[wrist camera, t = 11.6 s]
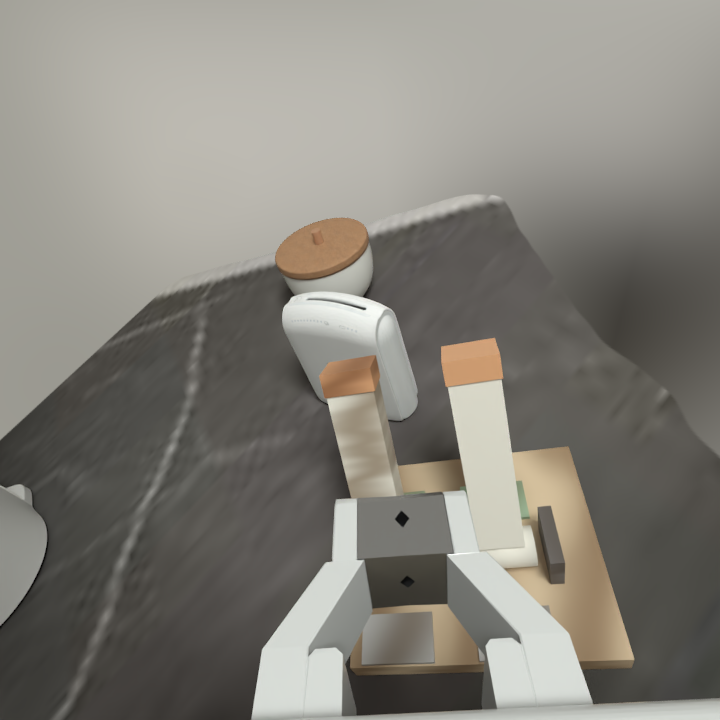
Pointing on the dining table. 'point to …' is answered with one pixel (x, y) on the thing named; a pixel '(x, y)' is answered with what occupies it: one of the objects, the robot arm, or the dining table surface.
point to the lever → (487, 451)
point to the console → (543, 582)
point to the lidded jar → (327, 258)
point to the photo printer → (351, 343)
